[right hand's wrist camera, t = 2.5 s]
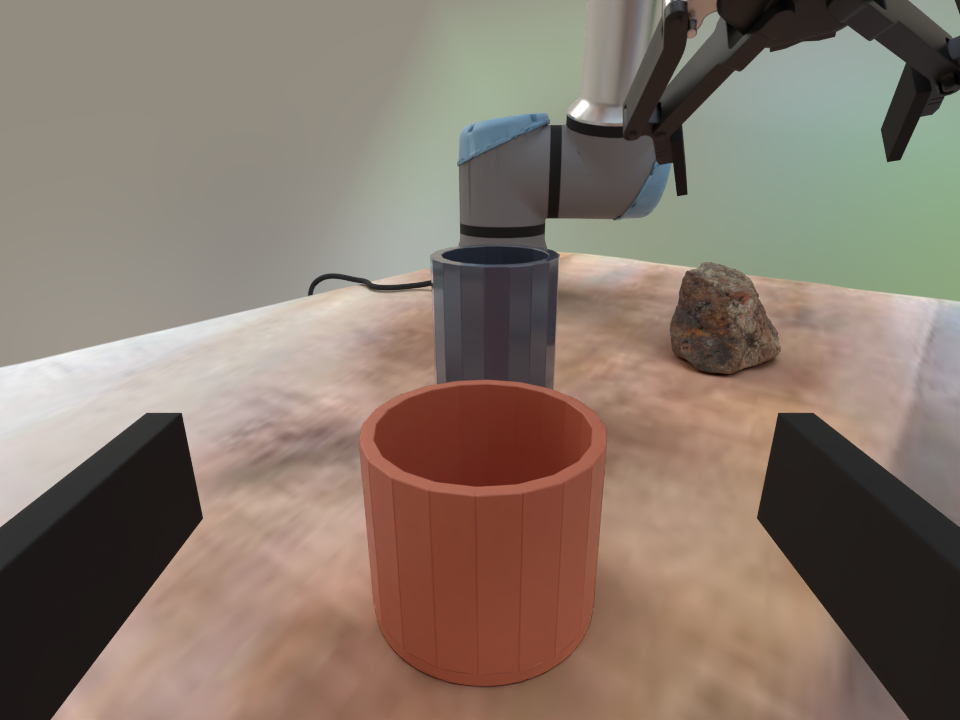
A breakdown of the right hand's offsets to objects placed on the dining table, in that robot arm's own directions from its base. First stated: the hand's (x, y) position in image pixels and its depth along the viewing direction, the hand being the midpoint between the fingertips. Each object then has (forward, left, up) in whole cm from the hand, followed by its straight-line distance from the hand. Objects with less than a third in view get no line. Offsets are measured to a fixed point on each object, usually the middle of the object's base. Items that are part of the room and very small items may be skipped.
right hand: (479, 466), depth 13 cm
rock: (0, -49, -13) cm, 51 cm away
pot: (+5, -8, -13) cm, 16 cm away
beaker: (+14, -26, -13) cm, 32 cm away
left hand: (-3, -39, +6) cm, 40 cm away
